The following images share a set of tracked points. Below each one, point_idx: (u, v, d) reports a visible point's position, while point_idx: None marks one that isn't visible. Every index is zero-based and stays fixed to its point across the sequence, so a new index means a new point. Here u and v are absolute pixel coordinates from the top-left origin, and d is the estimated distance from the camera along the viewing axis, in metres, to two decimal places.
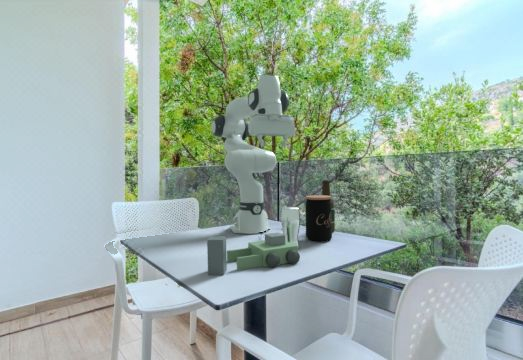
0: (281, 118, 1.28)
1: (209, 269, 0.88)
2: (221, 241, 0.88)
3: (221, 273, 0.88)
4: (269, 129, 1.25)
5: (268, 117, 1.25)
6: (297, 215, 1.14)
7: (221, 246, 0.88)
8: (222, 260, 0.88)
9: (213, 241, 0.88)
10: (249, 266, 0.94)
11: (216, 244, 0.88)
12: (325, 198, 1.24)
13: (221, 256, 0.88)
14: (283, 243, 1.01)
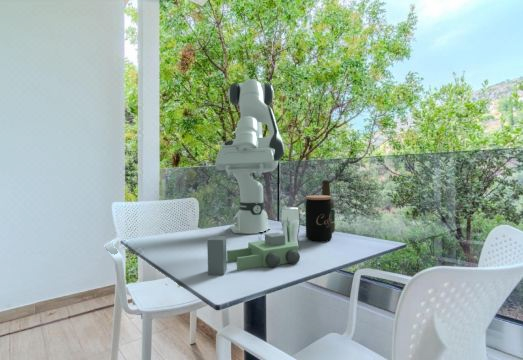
0: (255, 148, 1.10)
1: (209, 269, 0.88)
2: (221, 241, 0.88)
3: (221, 273, 0.88)
4: (237, 158, 1.07)
5: (238, 149, 1.10)
6: (297, 215, 1.14)
7: (221, 246, 0.88)
8: (222, 260, 0.88)
9: (213, 241, 0.88)
10: (249, 266, 0.94)
11: (216, 244, 0.88)
12: (325, 198, 1.24)
13: (221, 256, 0.88)
14: (283, 243, 1.01)
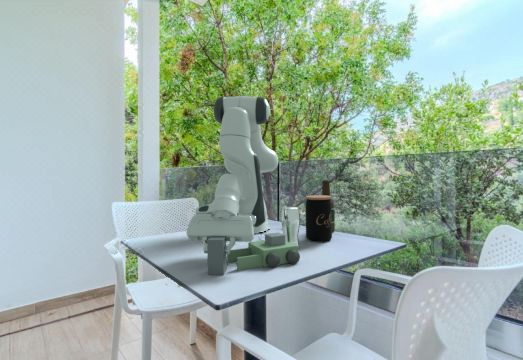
0: (233, 216, 0.96)
1: (209, 269, 0.88)
2: (221, 241, 0.88)
3: (221, 273, 0.88)
4: (211, 229, 0.93)
5: (213, 216, 0.96)
6: (297, 215, 1.14)
7: (221, 246, 0.88)
8: (222, 260, 0.88)
9: (213, 241, 0.88)
10: (249, 266, 0.94)
11: (216, 244, 0.88)
12: (325, 198, 1.24)
13: (221, 256, 0.88)
14: (283, 243, 1.01)
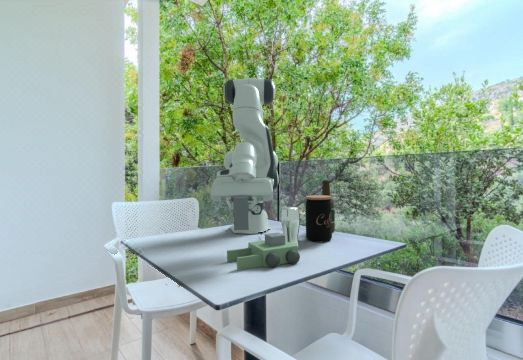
0: (253, 179, 1.03)
1: (235, 225, 0.95)
2: (246, 198, 0.95)
3: (246, 228, 0.96)
4: (234, 190, 1.00)
5: (234, 179, 1.03)
6: (297, 215, 1.14)
7: (246, 203, 0.95)
8: (247, 216, 0.95)
9: (239, 199, 0.95)
10: (249, 266, 0.94)
11: (241, 201, 0.95)
12: (325, 198, 1.24)
13: (246, 212, 0.95)
14: (283, 243, 1.01)
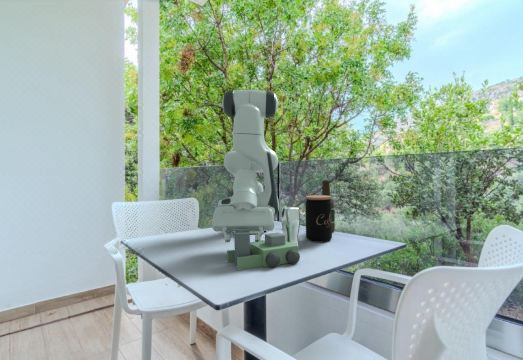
0: (254, 208, 1.04)
1: (236, 261, 0.96)
2: (247, 235, 0.96)
3: None
4: (235, 220, 1.00)
5: (235, 208, 1.04)
6: (297, 215, 1.14)
7: (247, 239, 0.96)
8: (248, 252, 0.96)
9: (240, 235, 0.96)
10: (249, 266, 0.94)
11: (242, 237, 0.96)
12: (325, 198, 1.24)
13: (247, 248, 0.96)
14: (283, 243, 1.01)
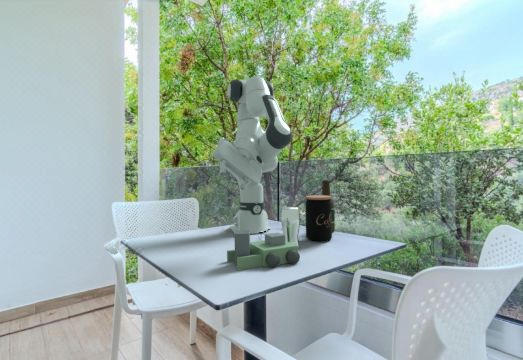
0: None
1: (236, 261, 0.96)
2: (247, 235, 0.96)
3: None
4: None
5: None
6: (297, 215, 1.14)
7: (247, 239, 0.96)
8: (248, 252, 0.96)
9: (240, 235, 0.96)
10: (249, 266, 0.94)
11: (242, 237, 0.96)
12: (325, 198, 1.24)
13: (247, 248, 0.96)
14: (283, 243, 1.01)
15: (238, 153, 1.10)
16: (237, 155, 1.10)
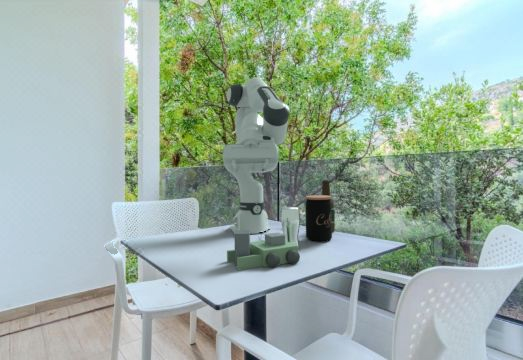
0: None
1: (236, 261, 0.96)
2: (247, 235, 0.96)
3: None
4: None
5: None
6: (297, 215, 1.14)
7: (247, 239, 0.96)
8: (248, 252, 0.96)
9: (240, 235, 0.96)
10: (249, 266, 0.94)
11: (242, 237, 0.96)
12: (325, 198, 1.24)
13: (247, 248, 0.96)
14: (283, 243, 1.01)
15: (244, 146, 1.15)
16: (244, 148, 1.14)
